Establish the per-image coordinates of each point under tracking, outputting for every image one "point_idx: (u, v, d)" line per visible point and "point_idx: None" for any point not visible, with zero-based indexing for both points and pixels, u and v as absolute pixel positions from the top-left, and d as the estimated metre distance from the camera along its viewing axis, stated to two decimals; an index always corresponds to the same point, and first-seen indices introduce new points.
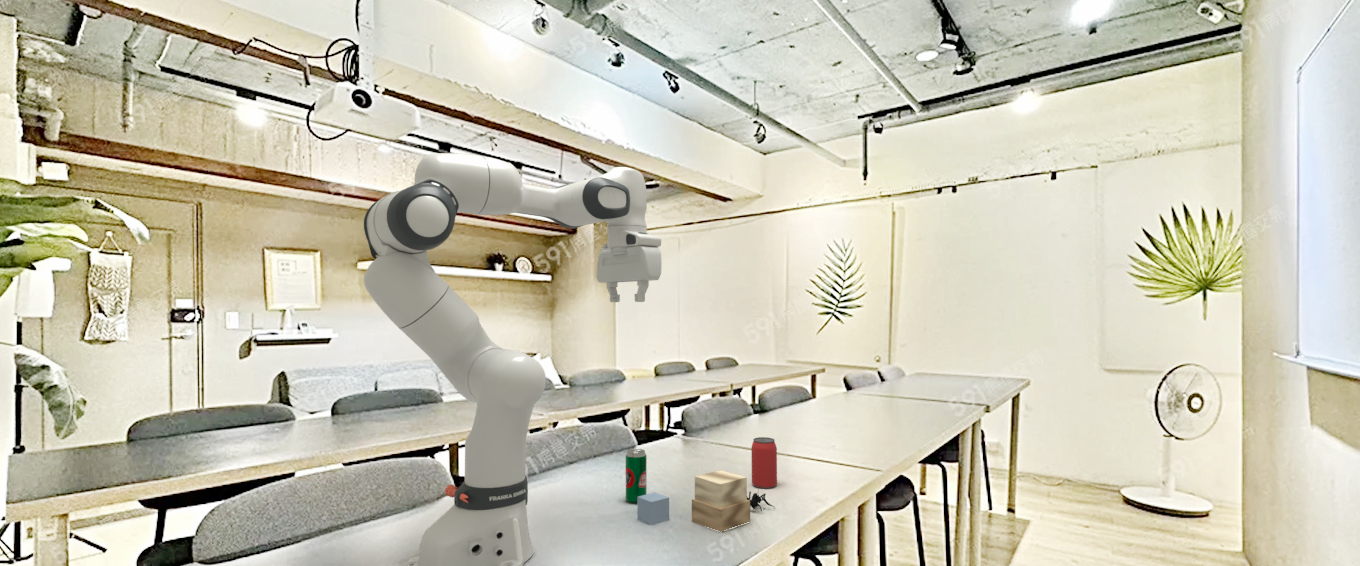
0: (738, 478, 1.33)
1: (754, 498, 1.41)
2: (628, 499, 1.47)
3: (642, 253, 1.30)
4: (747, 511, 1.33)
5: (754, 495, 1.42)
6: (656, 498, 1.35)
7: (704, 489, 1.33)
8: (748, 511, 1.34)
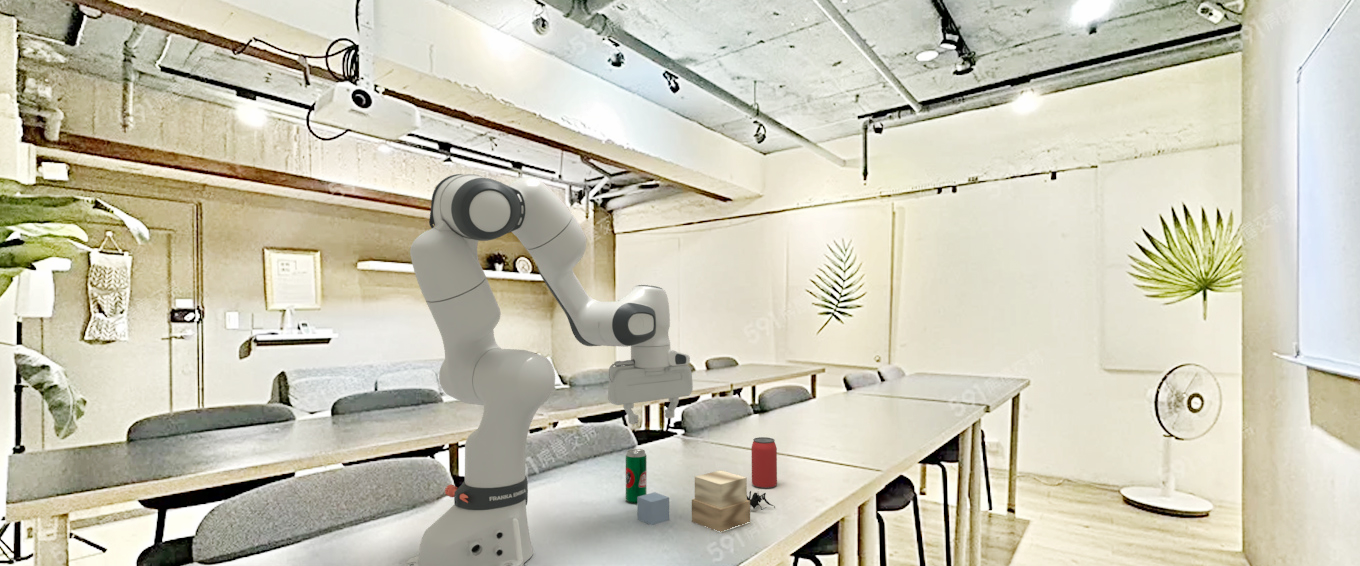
0: (738, 478, 1.33)
1: (754, 497, 1.42)
2: (628, 499, 1.47)
3: (689, 372, 1.40)
4: (747, 511, 1.33)
5: (754, 494, 1.42)
6: (656, 498, 1.35)
7: (704, 489, 1.32)
8: (748, 511, 1.33)
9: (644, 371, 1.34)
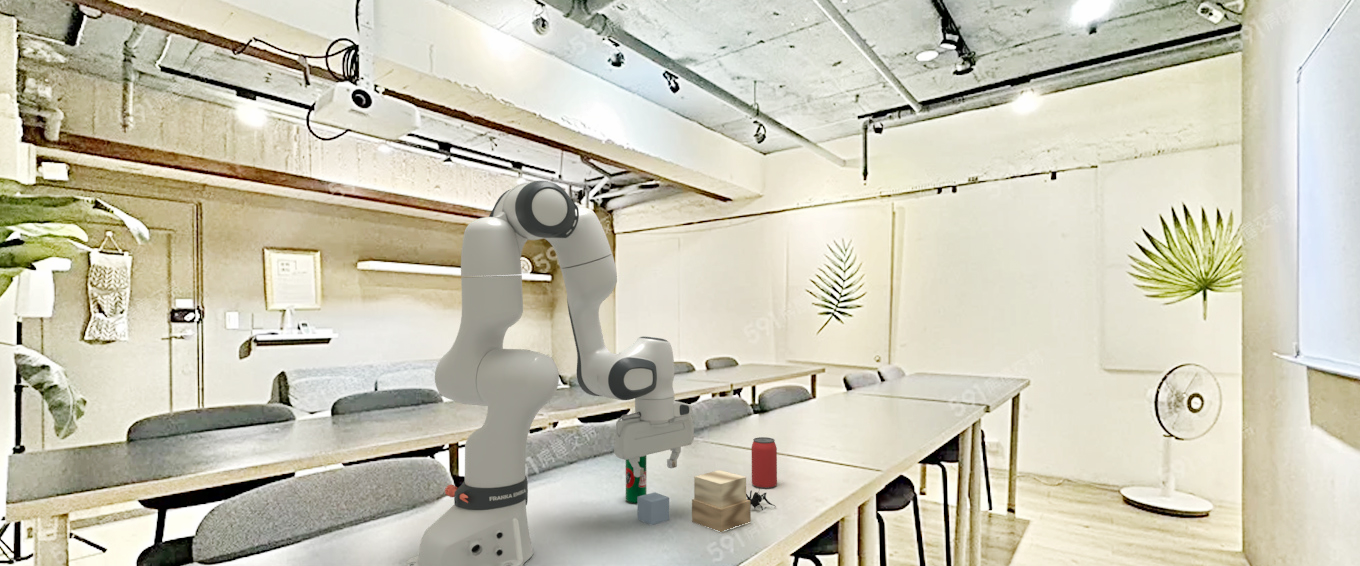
0: (738, 478, 1.34)
1: (755, 497, 1.42)
2: (628, 499, 1.47)
3: (691, 421, 1.41)
4: (747, 511, 1.33)
5: (755, 494, 1.42)
6: (656, 498, 1.35)
7: (704, 489, 1.32)
8: (748, 511, 1.33)
9: (650, 424, 1.34)
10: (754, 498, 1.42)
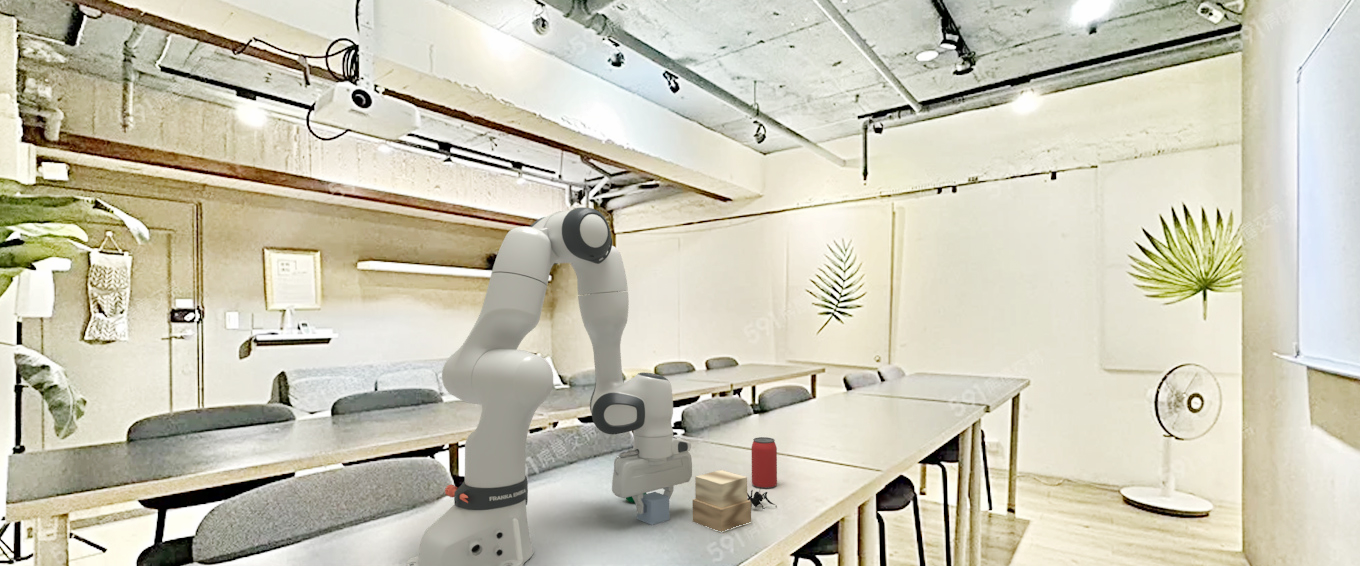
0: (739, 478, 1.34)
1: (756, 496, 1.42)
2: (628, 499, 1.47)
3: (689, 458, 1.40)
4: (748, 511, 1.33)
5: (756, 493, 1.43)
6: (656, 497, 1.35)
7: (705, 489, 1.33)
8: (749, 511, 1.33)
9: (648, 461, 1.33)
10: (755, 497, 1.42)
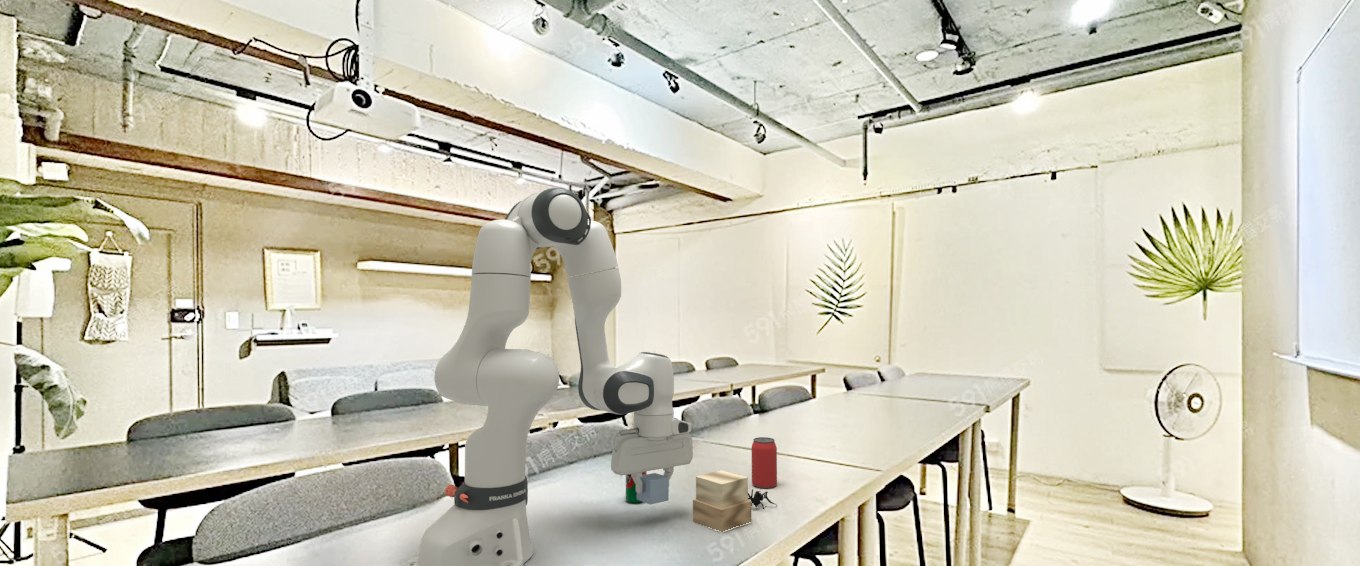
0: (739, 478, 1.34)
1: (756, 496, 1.43)
2: (628, 499, 1.47)
3: (690, 440, 1.40)
4: (748, 511, 1.33)
5: (756, 493, 1.43)
6: (656, 477, 1.35)
7: (705, 489, 1.33)
8: (749, 511, 1.33)
9: (648, 440, 1.33)
10: (755, 497, 1.43)
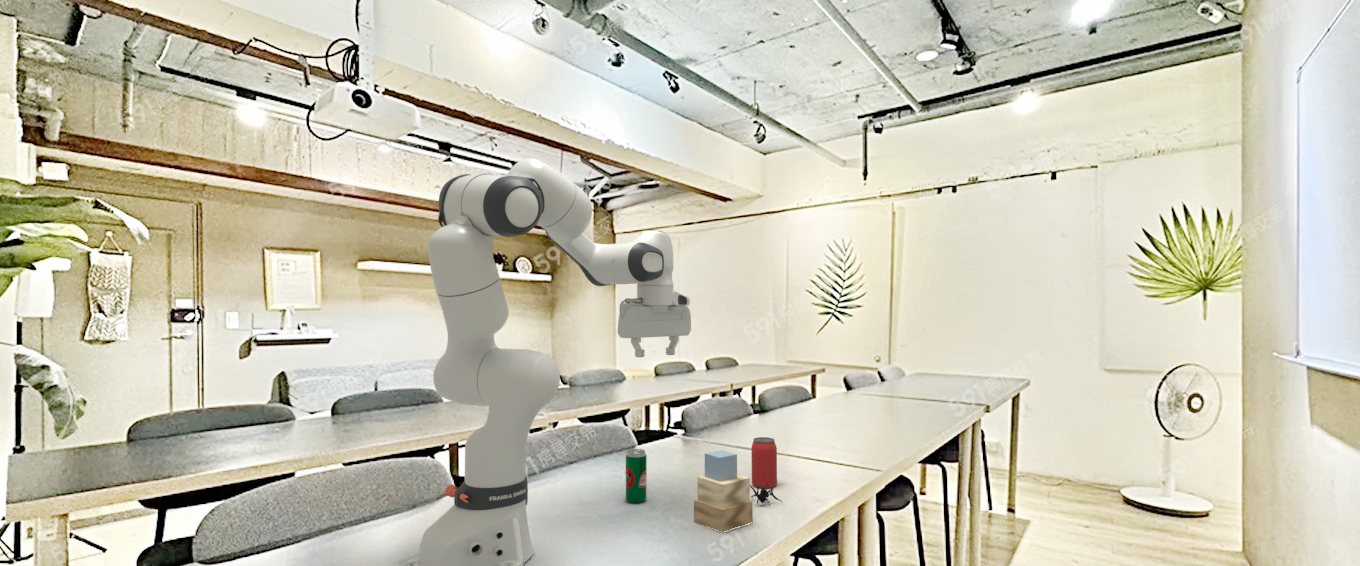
0: (741, 479, 1.33)
1: (762, 492, 1.45)
2: (628, 499, 1.47)
3: (688, 313, 1.52)
4: (749, 512, 1.33)
5: (762, 490, 1.46)
6: (724, 454, 1.34)
7: (707, 490, 1.32)
8: (750, 512, 1.33)
9: (651, 309, 1.45)
10: (762, 493, 1.45)
